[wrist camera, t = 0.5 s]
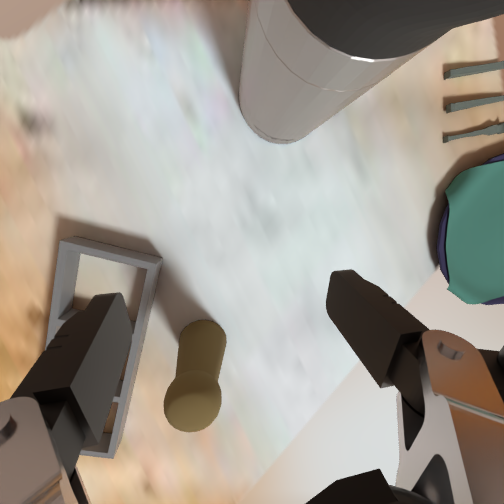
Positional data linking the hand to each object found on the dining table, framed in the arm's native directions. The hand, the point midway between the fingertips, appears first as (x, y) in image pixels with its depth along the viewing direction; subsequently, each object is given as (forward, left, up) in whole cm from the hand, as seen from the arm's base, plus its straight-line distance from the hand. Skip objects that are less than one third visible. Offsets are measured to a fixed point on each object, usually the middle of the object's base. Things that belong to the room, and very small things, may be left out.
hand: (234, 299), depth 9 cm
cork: (+15, +1, -20) cm, 25 cm away
